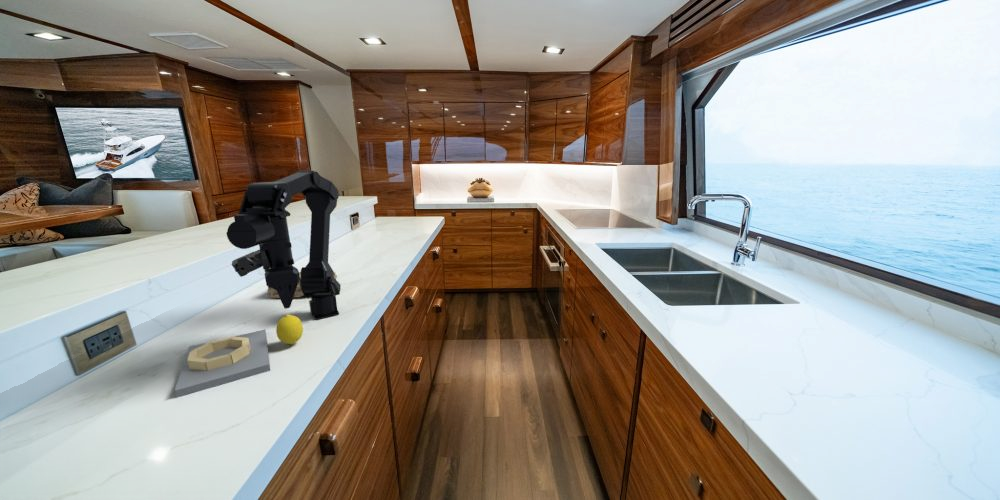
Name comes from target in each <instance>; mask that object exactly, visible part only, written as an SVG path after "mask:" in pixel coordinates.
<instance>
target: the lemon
mask: <svg viewBox="0 0 1000 500" xmlns="http://www.w3.org/2000/svg"><path fill="white" fill-rule="evenodd" d="M303 326H304V325H303V323H302V321H301V319H300V318H299V317H297V316H295V315H292V314H288V313H287V314H285V315H284V316H282V317H281V318H280V319H279V320H278V322H277V324H276V327H275V328H276V336H277V338H278V340H279V341H280V342H281V343H283V344H286V345H287V344H288V345H291V346H293V345H294V344H296V343H297V342H298V341H299V340H300V339H301V338H302V336H303V332H304V327H303Z"/></svg>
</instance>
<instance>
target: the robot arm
mask: <svg viewBox="0 0 1000 500" xmlns="http://www.w3.org/2000/svg"><path fill="white" fill-rule="evenodd" d="M298 194H301V195H302V197H304V198H305V204H306V205H307V207H308V209H309V210H310V212H311V215H310V216H311V218H310V219H311V220H310V238H309V239H310V241H309V259H308V263H307V264H306V265H305V267H303V266H302V267H301V269H300V271H299V269H298V268H297V267H295V266H294V265H295V260H294V258H293V252H292V251H293V250H292V242H291V238H290V234H289V233H290V232H289V226H288V219H287V217H290V216H292V215H291V213H290V212H289V211H288V210H286V208H287V207H288V206H290V204H291V203H292V202H293V200H292V198H293V197H294V196H296V195H298ZM339 195H340V193H339V190H338V187H336V185H335V184H334V183H333V181H331V180H329V179H328V178H326V177H323V176H322V175H320V173H319V172H318V171H316V170H298V171H296V172H295V173H293V174H291V175H288V176H285V177H283V178H281V179H278V180H275V181H267V182H266V181H265V182H251V183H250V184H248V185H247V186H246V189H245V192H244V195H243V198H242V201H241V204H240V208H239V211H238V214H234V216H233V218H234V221H233V222H232V223H230V224H229V225H228V228H227V231H226V238H227V240H228V241H229V242H230V244H231V245H232V246H234V247H236V248H238V249H242V250H247V249H250V248H254V247H256V246H259V249H257V250H255V251H252V252H249V253H247V254H245V255H242V256H239V257H237V258H235V259H233V260H232V262H231V266H232V267H233V269H234V271H235V272H236V273H237V275H238V276H239V277H245V276H247V275H248V274H249V273H252V272H254V271H256V270H258V269H260V268H263V270H264V279H265V284H266V286H267V288H268V287H269V288H273V289H275V290H276V291H277V293H278V295H279V297H280V298H279V299H280V302H281V304H282V306H283V308H284V309H285V310H287V309H290V308H291V305H292V303H293V299H294V298H295V297H294V294H295V291H296V288H297V285H298V283H299V280H300V287H301V290H302V292H303V295H304V296H303V297H304V298H310V299H309V301H308V304H309V311H310V315H311V316H312V317H313V319H314V320H316V321H317V320H320V319H326V318H328V317H334V316H337V315H340V312H339V310H338V305H337V304H338V303H337V296H339V295H340V294H341V289H342V288H341V283H340V282H339V281H338V279H337V278H336V279H335V278H334V272H335V271H334V270H333V268H332V266H331V264H330V263H329V253H330V250H329V247H330V227H331V226H330V225H331V214H332V213H333V212H334V210H335V209H336V208H337V205H338V199H339ZM299 272H301V279H300V275H299Z"/></svg>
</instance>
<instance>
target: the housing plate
mask: <svg viewBox="0 0 1000 500" xmlns="http://www.w3.org/2000/svg"><path fill="white" fill-rule="evenodd" d="M267 338H268V337H267V332H266V329H265V328H264V329H261V330H255V331H252V332H248V333H244V334H243V333H242V334H238V335H235V336H229V337H225V338H220V339H216V340H211V341H208V342H205V343H199V344H196V345H190V346H188V348H187V351H186V355H185V357H184V360H183V363H182V366H181V370H180V372H179V377H178V379H177V382H176V385H175V388H174V393H175V397H176V398H179V397H183V396H186V395H190V394H193V393H197V392H201V391H204V390H206V389H210V388H215V387H218V386H221V385H224V384H227V383H231V382H234V381H239V380H241V379H245V378H249V377H252V376H255V375H256V376H257V375H259V374H263V373H266V372H269V371H270V372H271V363H270V354H269V347H268V339H267Z"/></svg>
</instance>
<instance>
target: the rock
mask: <svg viewBox="0 0 1000 500" xmlns="http://www.w3.org/2000/svg"><path fill="white" fill-rule="evenodd" d="M299 275H300V279H301V271H299ZM334 278H335V279H336V280H337V278H338V275H337V274H336V272H335V271H334ZM266 294H267V297H268V298H270V299H280V297H279V295H278V293H277V291H276V290H275V289H273V288H269V287H268V286H267V293H266ZM301 297H304V295H303V292H302V290H301V287H300V280H299V283H298V285H297V288H296V291H295V294H294V297H293V298H301Z"/></svg>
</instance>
